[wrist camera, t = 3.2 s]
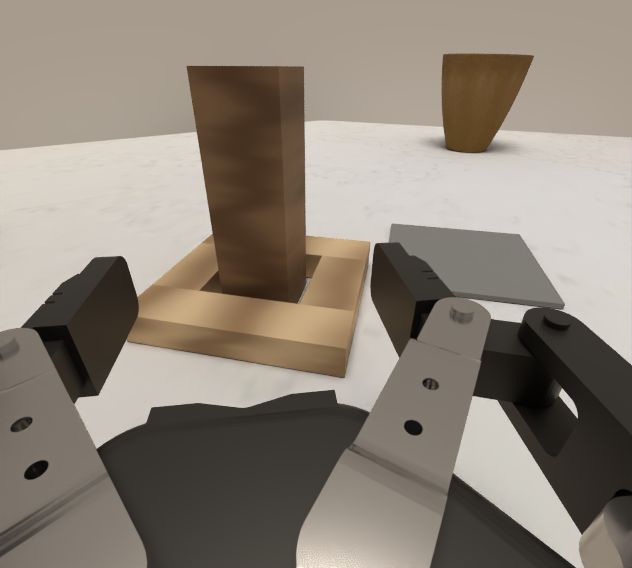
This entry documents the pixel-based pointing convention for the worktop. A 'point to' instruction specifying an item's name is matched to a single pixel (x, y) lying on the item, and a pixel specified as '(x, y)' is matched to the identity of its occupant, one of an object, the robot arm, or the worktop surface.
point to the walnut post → (254, 175)
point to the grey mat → (480, 264)
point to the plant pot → (478, 96)
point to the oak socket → (259, 311)
